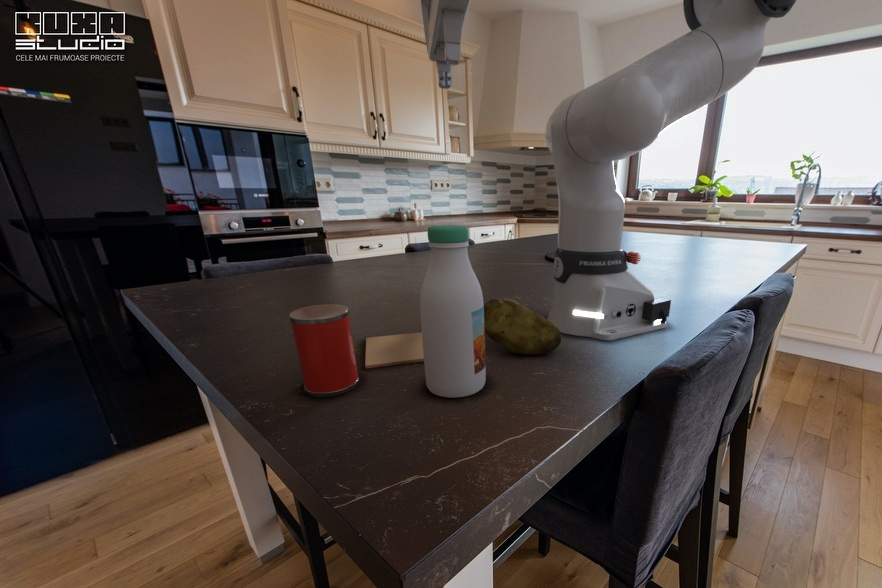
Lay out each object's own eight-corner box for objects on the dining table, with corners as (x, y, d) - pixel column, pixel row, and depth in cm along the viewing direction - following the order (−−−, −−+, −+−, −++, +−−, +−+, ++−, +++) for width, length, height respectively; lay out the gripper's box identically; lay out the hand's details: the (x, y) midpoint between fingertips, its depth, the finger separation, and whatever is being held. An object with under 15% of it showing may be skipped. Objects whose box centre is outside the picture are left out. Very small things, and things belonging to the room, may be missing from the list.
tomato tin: (359, 371, 55) (349, 302, 52) (358, 392, 50) (346, 316, 46) (308, 378, 53) (294, 306, 50) (301, 400, 48) (284, 321, 44)
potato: (537, 368, 56) (539, 314, 53) (470, 348, 63) (468, 300, 61) (566, 350, 63) (568, 301, 60) (501, 334, 70) (501, 290, 67)
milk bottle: (460, 405, 46) (452, 230, 39) (413, 389, 50) (397, 226, 43) (497, 380, 53) (495, 225, 45) (452, 367, 56) (444, 222, 49)
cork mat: (437, 332, 70) (437, 330, 70) (449, 358, 60) (449, 355, 60) (366, 340, 67) (366, 337, 67) (365, 368, 56) (365, 365, 56)
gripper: (484, -111, 41) (486, 46, 45) (458, -4, 60) (461, 99, 64) (422, -125, 39) (430, 39, 43) (415, -11, 58) (421, 96, 62)
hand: (448, 75), depth 53 cm, fingers open, 8 cm apart
